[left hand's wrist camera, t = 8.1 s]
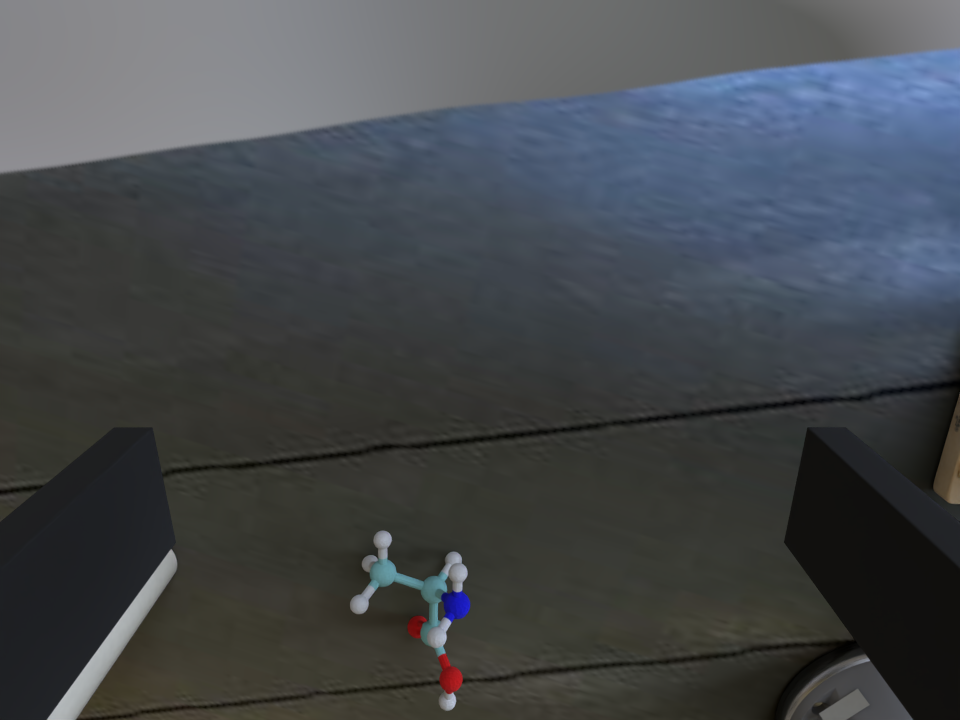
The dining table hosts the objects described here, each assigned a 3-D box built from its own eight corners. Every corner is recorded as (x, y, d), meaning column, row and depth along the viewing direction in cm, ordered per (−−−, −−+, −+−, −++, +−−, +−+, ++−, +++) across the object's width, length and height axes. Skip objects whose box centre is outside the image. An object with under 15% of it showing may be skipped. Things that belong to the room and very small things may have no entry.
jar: (186, 550, 47) (3, 818, 29) (165, 593, 48) (-24, 874, 30) (127, 524, 46) (-100, 783, 28) (107, 568, 47) (-122, 842, 29)
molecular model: (292, 614, 44) (345, 697, 36) (369, 496, 46) (436, 548, 38) (409, 664, 50) (477, 745, 41) (472, 557, 52) (550, 614, 44)
